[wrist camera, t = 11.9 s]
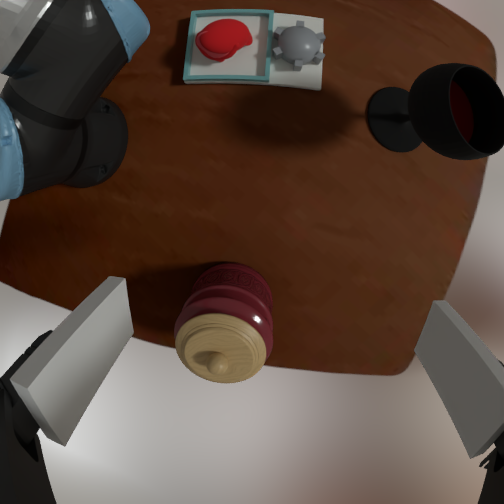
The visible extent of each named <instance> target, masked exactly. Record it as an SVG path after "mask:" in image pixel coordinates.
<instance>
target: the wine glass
mask: <svg viewBox="0 0 504 504" xmlns="http://www.w3.org/2000/svg"><path fill="white" fill-rule="evenodd" d="M368 121H369V126H370V128H371V131H372V133H373V134H374V136H375V137H376V139H377V140H378V141H379V142H380V143H381V144H382V145H383V146H384V147H386V148H388V149H390V150H392V151H396V152H409V151H412V150H414V149H415V148H417V147H418V146H419V145H420V144H421V143H422V141H423V142H424V143H425V144H426V145H427V146H428V147H430V148H431V149H432V150H434V151H435V152H437V153H439V154H441V155H443V156H446V157H449V158H452V159H458V160H473V159H480V158H483V157H487V156H490V155H492V154H495V153H496V152H498V151H499V150H500V149H501V148H502V147H503V145H504V96H503V94H502V92H501V90H500V88H499V87H498V85H497V84H496V82H495V81H494V80H493V78H492V77H491V76H490V75H489V74H487V73H486V72H485V71H484V70H482V69H480V68H478V67H476V66H472V65H467V64H459V63H448V64H441V65H437V66H434V67H432V68H429V69H427V70H426V71H424V72H423V73H422V74H420V75H419V77H418V78H417V79H416V80H415V81H414V83H413V85H412V87H411V89H410V92H408V91H406V90H404V89H401V88H397V87H388V88H384V89H382V90H380V91H379V92H377V93H376V94H375V95H374V96H373V98H372V99H371V101H370V104H369V107H368Z"/></svg>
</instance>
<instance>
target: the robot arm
mask: <svg viewBox="0 0 504 504" xmlns="http://www.w3.org/2000/svg"><path fill="white" fill-rule="evenodd" d="M149 33H150V25H149V21H148V19H147V17H146V16H145V14H144V13H143V11H142V10H141V9H140V7H139V6H138V5H137V4H136V3H135V2H134V1H133V0H0V73H1V74H4V75H7V76H9V78H8V80H7V82H6V84H5V86H4V88H3V90H2V92H1V94H0V201H2V200H5V199H15V198H17V197H19V196H22V195H25V194H28V193H31V192H34V191H37V190H40V189H43V188H46V187H49V186H53V185H56V184H59V183H62V184H66V185H70V186H73V187H78V188H86V187H91V186H95V185H98V184H100V183H103V182H104V181H106V180H107V179H109V178H110V177H111V176H112V175H113V174H114V173H115V172H116V170H117V169H118V168H119V166H120V164H121V162H122V160H123V158H124V155H125V152H126V148H127V142H128V129H127V123H126V120H125V117H124V115H123V113H122V111H121V110H120V108H119V107H118V106H117V105H116V104H115V103H114V102H112V101H111V100H109V99H107V98H103V97H100V96H101V94H102V93H103V92H104V90H105V89H106V88H107V86H108V85H109V84H110V82H111V81H112V80H113V79H114V77H115V76H116V75H117V74H118V72H119V71H120V70H121V69H122V68H123V66H124V65H125V64H126V63H129V62H130V61H131V59H132V55H133V54H134V53H135V52H136V50H137V49H138V48H139V47H140V46H141V45H142V43H143V42H144V41H145V40H146V39H147V37H148V35H149ZM133 333H134V331H133V326H132V320H131V314H130V308H129V301H128V295H127V287H126V280H125V278H120V277H113V276H109V277H108V278H107V279H106V280H105V281H104V282H103V283H102V284H101V285H100V286H99V287H98V288H96V289H95V290H94V291H93V292H92V293H91V294H90V295H89V296H88V297H87V298H86V299H85V300H84V301H83V302H82V303H81V304H80V305H79V306H78V307H77V308H76V309H75V310H74V311H73V312H72V313H71V314H70V315H69V316H68V317H67V318H66V319H65V320H64V321H63V322H62V323H61V324H60V325H59V326H58V327H57V328H56V329H55V330H54V331H52V330H49V331H48V332H46V333H44V334H42V335H41V336H39V337H38V338H37V339H36V340H35V341H34V342H33V343H32V344H31V347H28V349H26V351H25V353H24V354H22V355H21V356H20V357H19V358H18V359H17V360H16V361H15V362H14V364H13V365H12V366H11V367H10V368H9V369H8V370H7V371H6V372H5V374H4V375H3V376H2V377H1V378H0V504H56V501H55V498H54V495H53V492H52V488H51V485H50V481H49V478H48V474H47V470H46V467H45V463H44V458H43V454H42V449H41V444H40V440H39V437H38V435H37V434H36V433H37V432H38V430H39V428H41V430H42V431H43V433H44V434H45V435H46V437H47V438H49V439H51V440H52V441H54V442H57V443H59V444H61V445H63V446H66V444H67V442H68V440H69V439H70V437H71V435H72V433H73V431H74V430H75V428H76V426H77V424H78V422H79V421H80V419H81V417H82V416H83V414H84V412H85V410H86V409H87V407H88V405H89V404H90V402H91V400H92V398H93V397H94V395H95V393H96V392H97V390H98V388H99V387H100V385H101V384H102V382H103V380H104V379H105V377H106V375H107V374H108V372H109V371H110V369H111V367H112V366H113V364H114V363H115V361H116V359H117V358H118V356H119V355H120V353H121V351H122V350H123V348H124V346H125V345H126V344H127V342H128V341H129V339H130V338H131V336H132V335H133ZM414 351H415V353H416V355H417V356H418V358H419V360H420V361H421V363H422V365H423V367H424V368H425V370H426V372H427V374H428V375H429V377H430V379H431V381H432V383H433V385H434V386H435V388H436V390H437V392H438V394H439V396H440V397H441V399H442V401H443V403H444V405H445V407H446V409H447V411H448V413H449V415H450V417H451V419H452V421H453V423H454V425H455V427H456V429H457V431H458V433H459V435H460V438H461V440H462V442H463V444H464V446H465V448H466V450H467V453H468V455H469V457H470V459H471V458H473V457H475V456H478V455H480V454H483V453H484V452H485V451H486V450H487V449H488V448H489V447H490V446H491V445H492V444H493V443H494V444H495V446H496V448H495V449H494V450H493V451H492V452H491V453H490V454H489V455H488V456H487V457H486V458H485V459H484V460H483V461H482V462H481V463H480V465H479V467H482V466H483V464H485V463H486V462H487V461H488V460H489V463H488V464H487V465H486V466H485V467H484V468H485V469H487V473H486V477H485V481H484V484H483V488H482V492H481V495H480V498H479V501H478V504H504V365H503V363H502V362H500V361H499V360H498V359H497V358H496V357H495V356H494V355H493V354H492V352H491V351H490V350H489V348H488V347H487V346H486V345H485V344H484V343H483V341H482V340H481V339H480V338H479V337H478V335H477V334H475V332H474V331H473V330H472V329H471V327H470V326H469V325H468V324H467V323H466V322H465V321H464V320H463V319H462V317H461V316H459V314H458V313H457V312H456V311H455V310H454V309H453V308H452V307H451V306H450V304H448V302H447V301H433V303H432V306H431V309H430V312H429V314H428V317H427V320H426V322H425V325H424V328H423V330H422V333H421V335H420V337H419V340H418V342H417V345H416V347H415V349H414Z"/></svg>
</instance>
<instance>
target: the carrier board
mask: <svg viewBox="0 0 504 504" xmlns="http://www.w3.org/2000/svg"><path fill="white" fill-rule="evenodd" d="M220 19H235V20H238V21H241V22H242V23H244V24H245V25H246V26H247V27H248V29H249V32H250V33H251V35H252V39H253V42H252V44H251V45H249V46H246V45H245V46H244V47H242V48H241V49H240V50H238V51H236V53H235V54H234V55H233V56H232V57H231V58H228V59H225V60H224V61H223V62H219V61H215V60H211V59H208V58H207V57H205V56H204V55H203V54H202V53H201V52H200V50H199V49H198V48H197V46H196V44H195V38H196V35H197V34H198V32H200V31H201V30H202V29H203V28H205V27H206V26H207V25H208V24H210V23H212V22H214V21H216V20H220ZM325 38H326V37H325V36H324V34H323V19H322V18H315V17H308V16H300V15H291V14H280V13H274V10H257V9H219V10H201V11H192V12H191V19H190V25H189V33H188V40H187V48H186V56H185V65H184V75H183V80H184V83H186V84H207V83H229V84H257V85H272V86H284V87H294V88H303V89H311V90H318V91H320V90H321V81H322V59H323V58H324V56H325V55H324V54H323V42H324V40H325Z"/></svg>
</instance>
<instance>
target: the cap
mask: <svg viewBox="0 0 504 504" xmlns="http://www.w3.org/2000/svg"><path fill="white" fill-rule="evenodd" d="M252 42H253V39H252V35H251V33H250V32H249V29H248V27H247V26H246V25H245V24H244V23H242V22H241V21H238V20H235V19H220V20H216V21H214V22H212V23H210V24H208V25H207V26H206V27H205V28H203V29H202V30H201V31H200V32H198V34H197V35H196V38H195V44H196V46H197V48H198V49H199V50H200V52H201V53H202V54H203V55H204V56H205V57H207V58H208V59H211V60H215V61H219V62H223V61H224V60H225V59H228V58H231V57H232V56H233V55H234V54H235V53H236V51H238V50H240V49H241V48H242V47H244V46H245V45H246V46H249V45H251V44H252Z"/></svg>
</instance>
